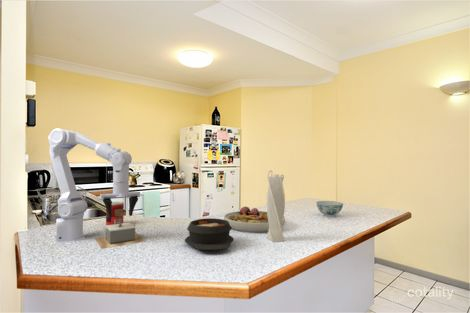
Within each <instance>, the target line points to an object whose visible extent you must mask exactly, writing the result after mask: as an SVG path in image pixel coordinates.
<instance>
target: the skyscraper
mask: <svg viewBox="0 0 470 313" xmlns="http://www.w3.org/2000/svg"><path fill="white" fill-rule="evenodd" d="M266 178H267V181H268V187H267V192H266V212H267V216H268V222H269V231H268V232H267V235H266V239H267V240H269V241H271V242H272V243H277V242H285V237H284V232H283V229H282V228H283V226H282V222H283V217H285V208H286V196H285V189H284V183H283V182H284V178H285V175H284V174H281V175H280V174H273V171H272V170H269V171H268V173H267V177H266ZM281 226H282V227H281Z"/></svg>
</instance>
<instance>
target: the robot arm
mask: <svg viewBox="0 0 470 313" xmlns="http://www.w3.org/2000/svg"><path fill="white" fill-rule="evenodd" d="M47 139H48V143H49V150H48V151H49V152H48V153H49V157H50V160H51V165H52V169H53V170H54V172H53V173H54V175H55V178H56V181H57V184H58V188H59V191H60V192H59V193H60V197H59V198H58V199H57V205H58V206H57V213H58V215H59V216H60V218H56V220H55V233H54V239H55V242H56V244H57V243H64V242H72V241H73V242H74V241H79V240H85V239H86V237H85V235H84V215H85V213H86V211H87V210H88V203H87V201H86V200H85V199H84V197H83V196H84V195H83V194H81V193H80V192H78V191H77V187H76V183H75V180H74V177H73V172H72V170H71V165H70V164H69V163H70V162H69V158H68V156H67V155H68V153H69V152H70V151H72V150H73V149H74V148H75V147H76V146H78V145H81V146H83V147H86V148H87V149H90V150H93V151H95V154H96V156H98V157H100V158H102V159H104V160H106V161H108V162H110V163H111V165H112V169H113V170H112V171H113V172H112V192H110V193H100V194H99V200H101V201H102V203H103V204H104V206H105V210H106V209H107V212H108V218H111V217H112V213H111V207H112V202H113V201H112V199H113V200H114V199H126V198H127V199H128V204H129V205H128V207H129V208H128V215H129V217H132V216H133V213H134V209H135V207H136V205H137V203H138V201H139V198H140V197H141V191H130V187H129V186H130V165H131V163H132V162H133V161H132V160H133V159H132V158H133V157H132V155H131V154H130V153H129V152H127V151H122V150H121V148H119V147H117V148H116V147H115V146H112V144H111V143H109V142H101V143H99V142H98V141H95V140H94V139H92V138H90V137H88V136H86V135H85V134H83V133H80V132H77V131H75V130H69V129H68V130H67V129H62V128H58V127H57V128H54V129H52V130H51V132H50V133H49V135H48V136H47Z"/></svg>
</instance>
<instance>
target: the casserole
mask: <svg viewBox="0 0 470 313" xmlns="http://www.w3.org/2000/svg"><path fill="white" fill-rule="evenodd" d="M186 230H187V231H188V234H189V235H188V236H186V237H185V238H184V242H185V243H186V244H187V245H189V246H192V247H194V248H195V249H197V250H199V251H218V250H219V251H220V250H225V249H228V248H230V247H231V244H232V243H233V242H234V237H233V236H232V235H230V233H231V232H230V231H231V230H233V229H232V227H231V226H230V224H229V222H228V221H226V220H224V218H223V219H221V218H210V217H209V218H208V217H207V218H199V219H198V218H197V219H194V220H191V221H190V222H189V225H188V226H187V227H186Z"/></svg>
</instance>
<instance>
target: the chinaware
mask: <svg viewBox="0 0 470 313" xmlns="http://www.w3.org/2000/svg"><path fill="white" fill-rule="evenodd" d="M315 203H316V207H317V209H318V211H319V212H320V213H321V214H323V216H324V217H328V218H334V217H335V218H336V215H338V214H340V212H341V211H342V209H343V206H344V202H340V201H333V200H318V201H316V202H315Z"/></svg>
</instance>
